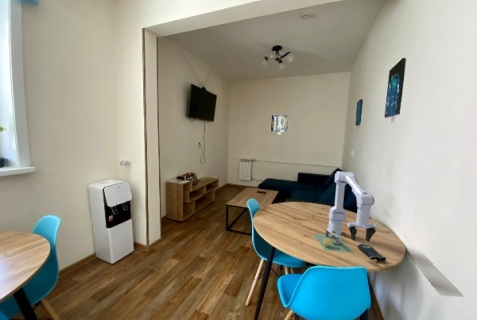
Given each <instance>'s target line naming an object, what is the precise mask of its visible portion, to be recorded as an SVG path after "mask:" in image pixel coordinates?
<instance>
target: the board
mask: <svg viewBox="0 0 477 320" xmlns="http://www.w3.org/2000/svg"><path fill="white" fill-rule="evenodd" d="M328 233H329V231H328V230H327V229H325V233H324V234H323V233H313V236H314V237H315V239H316V240H317V241H318V243H319V245H320V246H321V247H322V249H323V250H324V251H326V252H327V251H329V252H338V253H339V252H341V253H354V251H353V250H352V249H351V248H350V247H349V246H348V244H346V243H345V241H343V239H342V238H341V237H336V236H334V235H331V234H328ZM332 233H335V231H333V230H332ZM329 237H336V238H338V239H339V240H340V241H341V242H342V245H333V244H332V243H331V244H330V248H329V247H324V245H323V239H324V238H329Z"/></svg>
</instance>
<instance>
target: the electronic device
mask: <svg viewBox="0 0 477 320" xmlns="http://www.w3.org/2000/svg"><path fill="white" fill-rule="evenodd" d="M356 246H357V249H358V250H359V251H360V252H361V253H363V254H364V255H365V256H367V257H368V258H369V259H370V260H371V258H376V257H377V258H376V259H377V261H376V262H385V261H387V258H386V256H383V255H381V253H380V252H378V251H377V250H376V249H375V248H374V247H373V246H371V245H369V244H366V243H359V244H357V245H356Z"/></svg>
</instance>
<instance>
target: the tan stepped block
mask: <svg viewBox="0 0 477 320" xmlns="http://www.w3.org/2000/svg"><path fill="white" fill-rule="evenodd" d="M331 242H336V241H335V239H329V238H324V239H323V245H324V247H329V248H330V244H331Z"/></svg>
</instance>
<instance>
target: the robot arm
mask: <svg viewBox="0 0 477 320" xmlns="http://www.w3.org/2000/svg"><path fill="white" fill-rule="evenodd" d="M355 177H356V175H355V173H354V172H353V171H336V173H335V174H334V183H336V185H335V187H336V188H335V197H334V206H332V207H331V208H329V212H328V219H329V220H328V226H327V228H326V230H328V231H329V232H332V230H333V231H335V234H338V235H342V233H343V223H344V222H346V220H347V216H348V215H347V210H345V209H344V197H345V187H346V185H347V184H348V185H349V186H350V187H351V192H352V193H353V194H354V196H355V197H356V206H357V213H356V219H355V220H356V221H352V222H351V221H350V222H347V223H346V224H347V227H348V229H349V232H350V238H351V240H352V241H354V242H355V241H356V235H357V232H358V229H357V228H363V229H365V240H366V242H370V240H371V238H372V236H373V235H374V234H376V232H377V230H378V225H377V224H376V223H370V218H371V217H370V215H371V210H372V209H371V208H372V206H373V205H374V204H375V197H374V195H373V194H371V193H368V192H367V191H366V189H365V188H364V187H363V185H360V184H359V183H358V182H357V180H356V178H355Z"/></svg>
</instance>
